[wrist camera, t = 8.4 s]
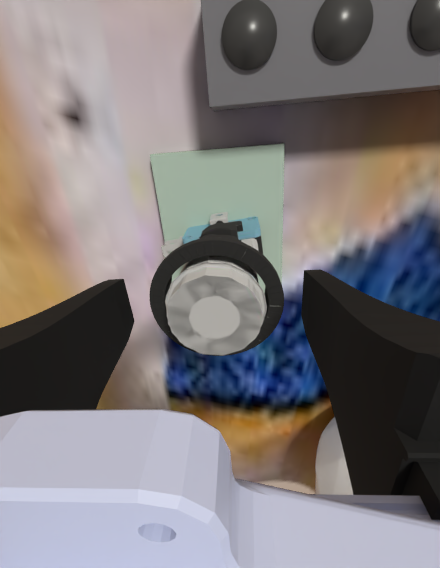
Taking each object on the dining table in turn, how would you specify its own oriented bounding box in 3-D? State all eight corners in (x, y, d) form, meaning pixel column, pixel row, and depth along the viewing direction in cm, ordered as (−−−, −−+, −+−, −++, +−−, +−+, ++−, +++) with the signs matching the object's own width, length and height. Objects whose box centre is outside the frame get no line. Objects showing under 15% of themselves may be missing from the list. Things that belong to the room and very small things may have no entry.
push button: (176, 277, 21) (133, 380, 12) (156, 204, 19) (86, 268, 10) (267, 264, 20) (292, 365, 12) (259, 186, 18) (281, 239, 9)
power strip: (601, -56, 13) (718, -116, 10) (551, 79, 15) (634, 65, 12) (204, -6, 15) (196, -45, 11) (213, 110, 17) (208, 105, 14)
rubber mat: (282, 143, 17) (284, 143, 17) (280, 289, 22) (281, 293, 21) (152, 154, 18) (149, 154, 18) (175, 294, 23) (174, 298, 22)
